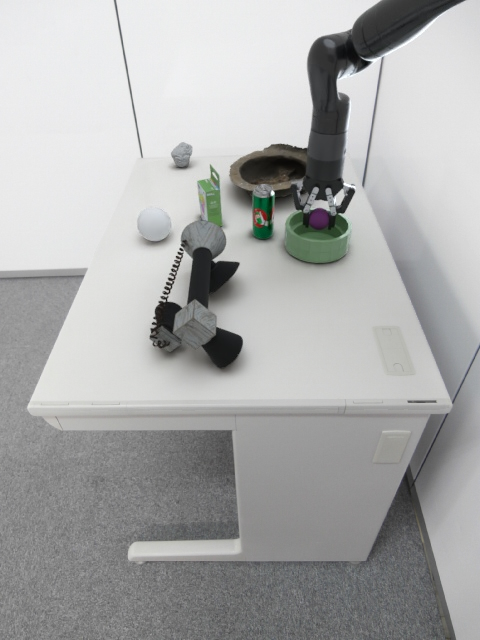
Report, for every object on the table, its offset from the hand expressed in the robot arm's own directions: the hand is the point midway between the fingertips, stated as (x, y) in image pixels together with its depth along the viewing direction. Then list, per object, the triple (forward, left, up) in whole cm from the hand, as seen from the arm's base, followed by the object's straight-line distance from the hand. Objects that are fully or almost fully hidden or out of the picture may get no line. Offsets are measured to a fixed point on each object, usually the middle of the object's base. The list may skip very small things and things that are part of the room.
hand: (318, 226), depth 99 cm
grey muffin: (+44, -38, -5) cm, 58 cm away
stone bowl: (+14, -26, -5) cm, 30 cm away
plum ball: (0, 0, +2) cm, 2 cm away
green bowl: (0, 0, -5) cm, 5 cm away
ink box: (+27, -7, -5) cm, 28 cm away
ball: (+38, +3, -5) cm, 39 cm away
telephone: (+20, +28, -5) cm, 35 cm away
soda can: (+13, -3, -5) cm, 14 cm away
